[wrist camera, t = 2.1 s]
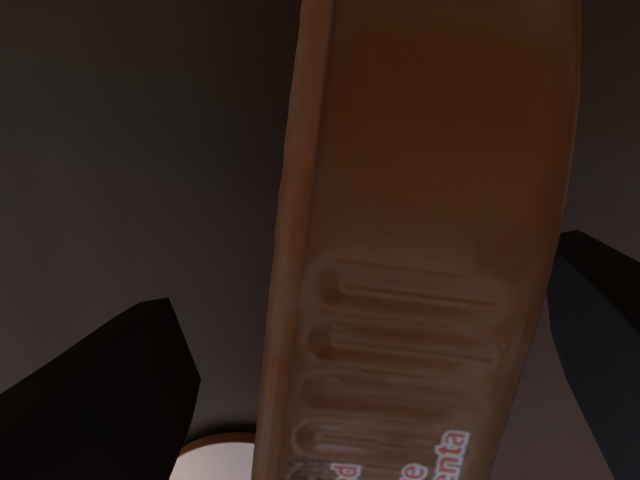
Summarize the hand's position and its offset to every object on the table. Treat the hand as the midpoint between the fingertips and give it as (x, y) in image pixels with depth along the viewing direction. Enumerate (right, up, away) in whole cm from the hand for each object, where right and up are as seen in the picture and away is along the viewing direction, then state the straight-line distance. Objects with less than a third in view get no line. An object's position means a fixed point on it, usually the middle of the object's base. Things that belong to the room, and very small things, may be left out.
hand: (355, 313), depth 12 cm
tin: (0, +1, +3) cm, 3 cm away
